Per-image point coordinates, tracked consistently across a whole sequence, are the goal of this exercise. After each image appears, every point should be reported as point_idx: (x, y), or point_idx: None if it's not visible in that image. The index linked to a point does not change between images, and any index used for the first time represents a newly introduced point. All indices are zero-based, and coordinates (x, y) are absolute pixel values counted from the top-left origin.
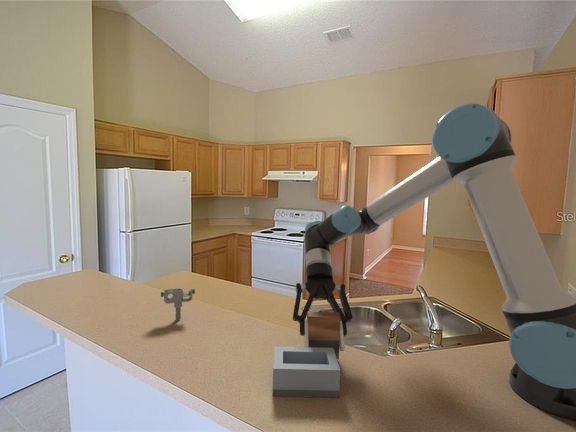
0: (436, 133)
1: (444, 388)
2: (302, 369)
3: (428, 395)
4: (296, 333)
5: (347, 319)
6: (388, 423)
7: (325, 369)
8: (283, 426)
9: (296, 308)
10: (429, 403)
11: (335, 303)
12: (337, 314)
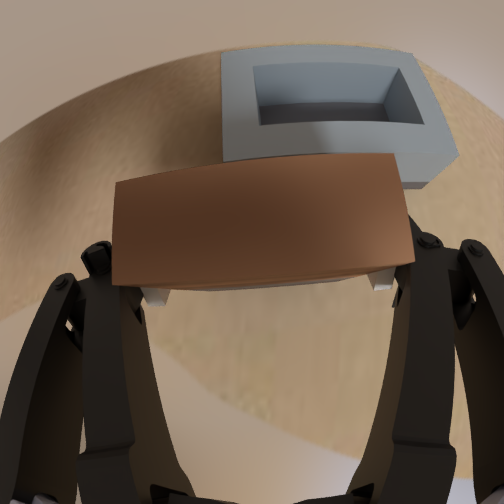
0: None
1: (26, 190)
2: (336, 45)
3: (56, 160)
4: (360, 447)
5: (87, 281)
6: (156, 70)
7: (267, 47)
8: (346, 42)
9: (498, 289)
10: (66, 138)
11: (99, 378)
12: (126, 233)
